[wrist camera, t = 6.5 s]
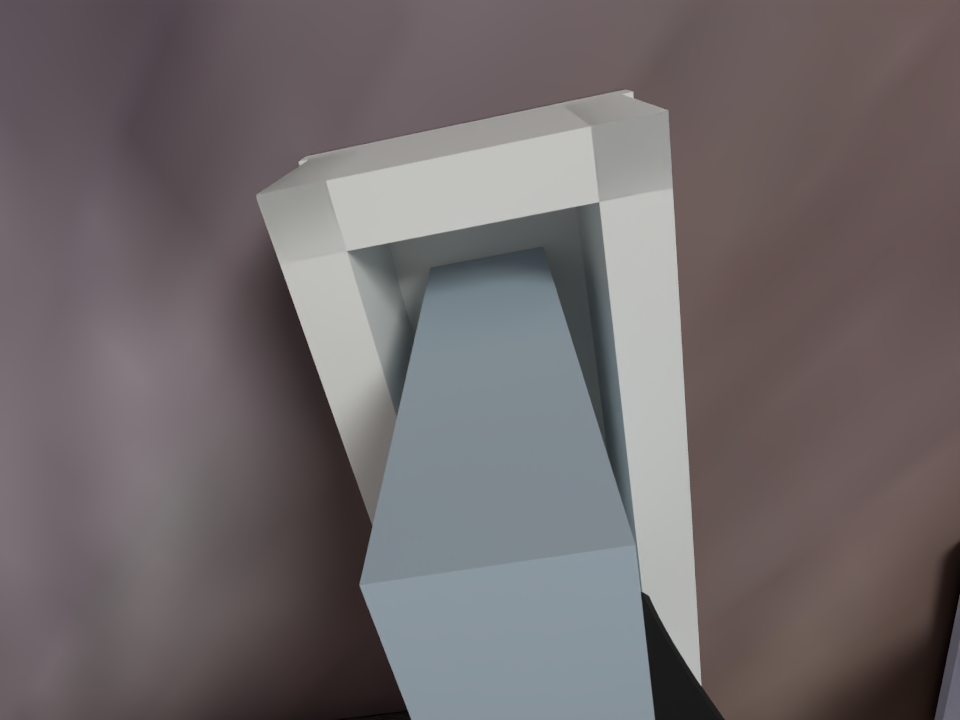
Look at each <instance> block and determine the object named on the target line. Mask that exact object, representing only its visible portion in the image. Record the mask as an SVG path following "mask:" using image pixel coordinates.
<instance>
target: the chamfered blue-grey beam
mask: <svg viewBox="0 0 960 720" xmlns="http://www.w3.org/2000/svg"><path fill="white" fill-rule="evenodd" d="M359 586H360V588H361V591H362V593H363V596H364V598H365V601H366V604H367V606H368V609H369V611H370V614H371V617H372V619H373V622H374V624H375V627H376V630H377V632H378V635H379V637H380V640H381V642H382V645H383V648H384V650H385V653H386V655H387V658H388V661H389V663H390V666H391V668H392V671H393V673H394V676H395V679H396V681H397V684H398V686H399V689H400V692H401V694H402V697H403V699H404V702H405V705H406V707H407V710H408V712H409V715H410V717H411V720H655V715H654V706H653V697H652V688H651V680H650V671H649V662H648V653H647V644H646V635H645V626H644V617H643V608H642V599H641V590H640V581H639V572H638V563H637V555H636V546H635V542H634V539H633V535H632V532H631V529H630V526H629V523H628V519H627V516H626V513H625V510H624V506H623V503H622V500H621V497H620V494H619V490H618V487H617V484H616V481H615V477H614V474H613V471H612V468H611V465H610V461H609V458H608V455H607V452H606V448H605V445H604V442H603V439H602V436H601V432H600V429H599V426H598V423H597V419H596V416H595V413H594V410H593V407H592V403H591V400H590V397H589V394H588V390H587V387H586V384H585V381H584V378H583V374H582V371H581V368H580V365H579V361H578V358H577V355H576V352H575V349H574V345H573V342H572V339H571V336H570V332H569V329H568V326H567V323H566V319H565V316H564V313H563V310H562V307H561V303H560V300H559V297H558V294H557V290H556V287H555V284H554V281H553V278H552V274H551V271H550V268H549V265H548V261H547V258H546V255H545V252H544V249H543V246H542V247H536V248H531V249H526V250H521V251H515V252H510V253H505V254H499V255H494V256H489V257H484V258H478V259H473V260H468V261H463V262H457V263H452V264H447V265H442V266H436V267H431V268H430V272H429V277H428V281H427V285H426V290H425V294H424V299H423V303H422V308H421V312H420V317H419V321H418V326H417V330H416V335H415V339H414V344H413V348H412V352H411V357H410V361H409V366H408V370H407V375H406V379H405V384H404V388H403V393H402V397H401V402H400V406H399V411H398V415H397V419H396V424H395V428H394V433H393V437H392V442H391V446H390V451H389V455H388V460H387V464H386V469H385V473H384V478H383V482H382V486H381V491H380V495H379V500H378V504H377V509H376V513H375V518H374V522H373V527H372V531H371V536H370V540H369V545H368V549H367V553H366V558H365V562H364V567H363V571H362V576H361V580H360V585H359Z"/></svg>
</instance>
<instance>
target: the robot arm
mask: <svg viewBox="0 0 960 720" xmlns="http://www.w3.org/2000/svg"><path fill="white" fill-rule="evenodd" d="M641 599H642V608H643V617H644V626H645V635H646V644H647V653H648V662H649V671H650V680H651V688H652V697H653V706H654V715H655V720H724V718H723V717H722V715H721V714H720V712H719V711H718V710H717V708H716V707H715V705H714V704H713V702H712V701H711V700H710V698H709V697H708V695H707V694H706V692H705V691H704V689H703V688H702V687H701V685H700V684H699V682H698V681H697V679H696V678H695V676H694V675H693V673H692V672H691V670H690V668H689V667H688V665H687V664H686V662H685V661H684V659H683V657H682V656H681V654H680V652H679V651H678V649H677V648H676V646H675V644H674V643H673V641H672V639H671V637H670V636H669V634H668V632H667V631H666V629H665V627H664V625H663V623H662V621H661V620H660V618H659V616H658V614H657V612H656V610H655V608H654V606H653V604H652V601H651V599H650V597H649V596H648V595H647V594H645V593H643V592H641ZM407 720H411V717H410V715H409V716H408V718H407ZM935 720H960V596H959V601H958V606H957V611H956V616H955V621H954V626H953V631H952V636H951V641H950V646H949V650H948V655H947V660H946V665H945V670H944V675H943V680H942V685H941V690H940V695H939V700H938V705H937V710H936V715H935Z"/></svg>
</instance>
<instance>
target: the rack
mask: <svg viewBox="0 0 960 720" xmlns="http://www.w3.org/2000/svg"><path fill="white" fill-rule="evenodd" d="M408 716H409V712H402V713H394V714H386V715H379V716H371V717H363V718H355V719H347V720H407V718H408Z"/></svg>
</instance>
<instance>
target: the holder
mask: <svg viewBox="0 0 960 720" xmlns="http://www.w3.org/2000/svg"><path fill="white" fill-rule="evenodd" d="M299 165H300V166H298V167H297V168H295V169H294V170H292V171H291V172H289V173H288V174H286V175H285V176H283V177H282V178H280V179H279V180H277V181H276V182H274V183H273V184H271V185H270V186H268V187H267V188H265V189H264V190H263V191H261V192H260V193H258V194H257V195H256V198H257V201H258V204H259V207H260V209H261V212H262V215H263V218H264V221H265V224H266V226H267V229H268V232H269V235H270V238H271V241H272V243H273V246H274V249H275V252H276V255H277V258H278V260H279V263H280V266H281V269H282V272H283V274H284V277H285V280H286V283H287V286H288V289H289V291H290V294H291V297H292V300H293V303H294V306H295V308H296V311H297V314H298V317H299V320H300V323H301V325H302V328H303V331H304V334H305V337H306V340H307V342H308V345H309V348H310V351H311V354H312V357H313V359H314V362H315V365H316V368H317V371H318V374H319V376H320V379H321V382H322V385H323V388H324V390H325V393H326V396H327V399H328V402H329V405H330V407H331V410H332V413H333V416H334V419H335V422H336V424H337V427H338V430H339V433H340V436H341V439H342V441H343V444H344V447H345V450H346V453H347V456H348V458H349V461H350V464H351V467H352V470H353V473H354V475H355V478H356V481H357V484H358V487H359V490H360V492H361V495H362V498H363V501H364V504H365V507H366V509H367V512H368V515H369V518H370V521H371V523H372V526H373V522H374V518H375V513H376V509H377V504H378V500H379V495H380V491H381V486H382V482H383V478H384V473H385V469H386V464H387V460H388V455H389V451H390V446H391V442H392V437H393V433H394V428H395V424H396V419H397V415H398V411H399V406H400V402H401V397H402V393H403V388H404V384H405V379H406V375H407V370H408V366H409V361H410V357H411V352H412V348H413V344H414V339H415V335H416V330H417V326H418V321H419V317H420V312H421V308H422V303H423V299H424V294H425V290H426V285H427V281H428V277H429V272H430V268H431V267H436V266H442V265H447V264H452V263H457V262H463V261H468V260H473V259H478V258H484V257H489V256H494V255H499V254H505V253H510V252H515V251H521V250H526V249H531V248H536V247H542V246H543V249H544V252H545V255H546V258H547V261H548V265H549V268H550V271H551V274H552V278H553V281H554V284H555V287H556V290H557V294H558V297H559V300H560V303H561V307H562V310H563V313H564V316H565V319H566V323H567V326H568V329H569V332H570V336H571V339H572V342H573V345H574V349H575V352H576V355H577V358H578V361H579V365H580V368H581V371H582V374H583V378H584V381H585V384H586V387H587V390H588V394H589V397H590V400H591V403H592V407H593V410H594V413H595V416H596V419H597V423H598V426H599V429H600V432H601V436H602V439H603V442H604V445H605V448H606V452H607V455H608V458H609V461H610V465H611V468H612V471H613V474H614V477H615V481H616V484H617V487H618V490H619V494H620V497H621V500H622V503H623V506H624V510H625V513H626V516H627V519H628V523H629V526H630V529H631V532H632V535H633V539H634V542H635V546H636V555H637V563H638V572H639V581H640V590H641V592H643V593H645V594H647V595H648V596H649V597H650V599H651V601H652V604H653V606H654V608H655V610H656V612H657V614H658V616H659V618H660V620H661V621H662V623H663V625H664V627H665V629H666V631H667V632H668V634H669V636H670V637H671V639H672V641H673V643H674V644H675V646H676V648H677V649H678V651H679V652H680V654H681V656H682V657H683V659H684V661H685V662H686V664H687V665H688V667H689V668H690V670H691V672H692V673H693V675H694V676H695V678H696V679H697V681H698V682H699V684H700V685H701V671H700V653H699V636H698V619H697V602H696V584H695V567H694V550H693V532H692V515H691V498H690V480H689V463H688V446H687V428H686V411H685V394H684V376H683V359H682V342H681V324H680V307H679V290H678V272H677V255H676V238H675V220H674V203H673V186H672V168H671V151H670V134H669V116H668V110H666V109H663V108H660V107H657V106H654V105H651V104H648V103H645V102H643V101H640V100H637V99H634V98H633V92H632V91H629V90H621V91H616V92H611V93H606V94H602V95H597V96H592V97H587V98H583V99H578V100H573V101H568V102H564V103H559V104H554V105H549V106H544V107H540V108H535V109H530V110H525V111H521V112H516V113H511V114H506V115H501V116H497V117H492V118H487V119H482V120H478V121H473V122H468V123H463V124H459V125H454V126H449V127H444V128H439V129H435V130H430V131H425V132H420V133H416V134H411V135H406V136H401V137H396V138H392V139H387V140H382V141H377V142H373V143H368V144H363V145H358V146H354V147H349V148H344V149H339V150H334V151H330V152H325V153H320V154H315V155H311V156H306V157H305V158H303V159H302V160H300V161H299Z"/></svg>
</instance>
